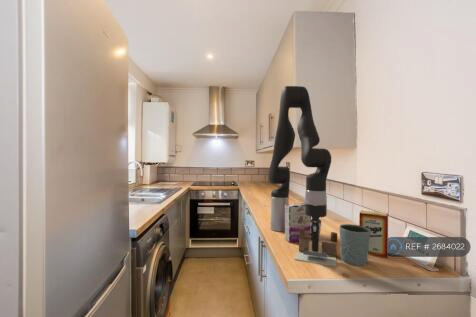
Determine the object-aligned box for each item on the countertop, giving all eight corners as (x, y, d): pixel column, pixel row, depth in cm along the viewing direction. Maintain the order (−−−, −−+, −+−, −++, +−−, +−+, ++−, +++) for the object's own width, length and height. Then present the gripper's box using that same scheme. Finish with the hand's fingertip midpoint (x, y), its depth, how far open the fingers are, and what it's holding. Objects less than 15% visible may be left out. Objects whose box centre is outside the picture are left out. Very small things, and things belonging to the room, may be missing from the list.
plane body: (300, 246, 99) (300, 225, 99) (336, 251, 94) (336, 228, 94) (298, 251, 93) (299, 228, 93) (337, 257, 88) (337, 233, 88)
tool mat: (296, 253, 92) (296, 251, 92) (335, 258, 87) (335, 257, 87) (294, 259, 85) (294, 258, 85) (336, 266, 80) (336, 265, 80)
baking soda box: (359, 252, 94) (359, 211, 94) (361, 247, 99) (361, 209, 99) (387, 257, 88) (387, 215, 89) (388, 252, 94) (388, 212, 94)
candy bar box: (305, 237, 111) (305, 202, 111) (311, 241, 106) (311, 204, 106) (284, 239, 108) (284, 203, 108) (289, 242, 103) (289, 205, 103)
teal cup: (343, 253, 92) (343, 222, 92) (372, 260, 86) (373, 227, 86) (335, 261, 84) (335, 228, 84) (367, 270, 78) (367, 233, 78)
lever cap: (304, 250, 89) (304, 239, 90) (327, 253, 87) (327, 242, 87) (303, 254, 85) (303, 243, 85) (327, 257, 82) (327, 246, 83)
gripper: (306, 199, 94) (306, 242, 94) (303, 204, 81) (302, 254, 81) (326, 200, 92) (326, 244, 91) (326, 206, 78) (326, 258, 78)
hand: (315, 249), depth 86 cm, fingers closed on lever cap, 3 cm apart
